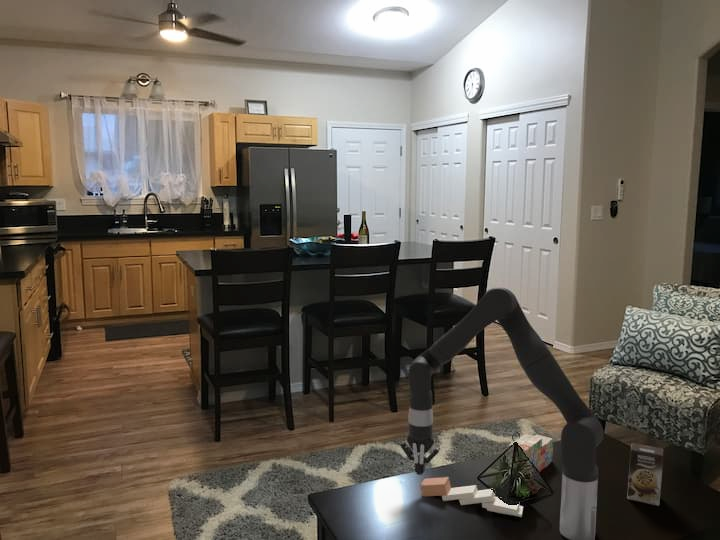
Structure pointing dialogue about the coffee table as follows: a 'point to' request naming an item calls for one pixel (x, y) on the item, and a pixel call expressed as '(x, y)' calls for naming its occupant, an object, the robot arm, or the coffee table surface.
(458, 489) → the domino
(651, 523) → the coffee table surface
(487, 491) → the domino
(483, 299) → the robot arm
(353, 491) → the coffee table surface
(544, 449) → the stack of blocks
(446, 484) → the domino
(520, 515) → the domino
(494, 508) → the domino
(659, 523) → the coffee table surface
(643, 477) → the brown cookie box
